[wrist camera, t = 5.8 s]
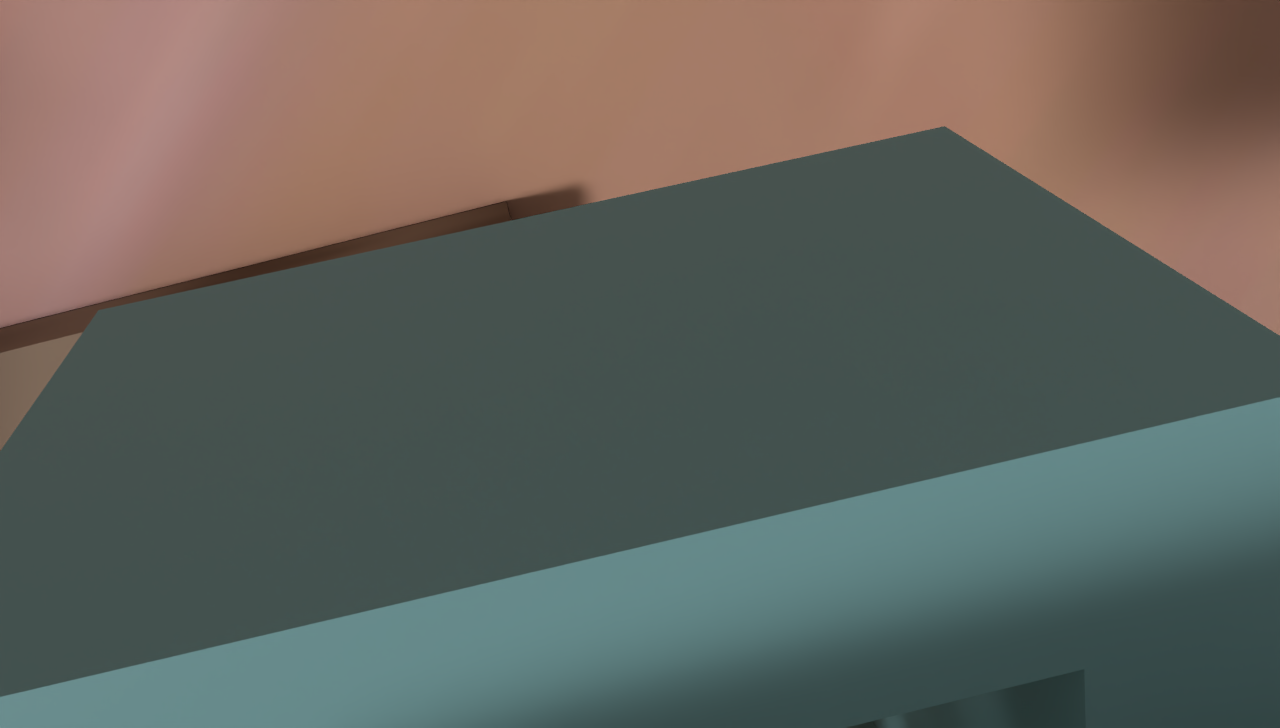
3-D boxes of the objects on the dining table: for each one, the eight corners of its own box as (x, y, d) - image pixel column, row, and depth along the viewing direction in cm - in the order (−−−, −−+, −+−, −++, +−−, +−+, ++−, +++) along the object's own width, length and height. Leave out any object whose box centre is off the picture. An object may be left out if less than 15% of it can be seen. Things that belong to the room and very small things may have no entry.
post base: (505, 201, 25) (534, 363, 18) (645, 714, 31) (708, 989, 24) (-178, 373, 24) (-436, 614, 17) (102, 862, 30) (0, 1190, 23)
